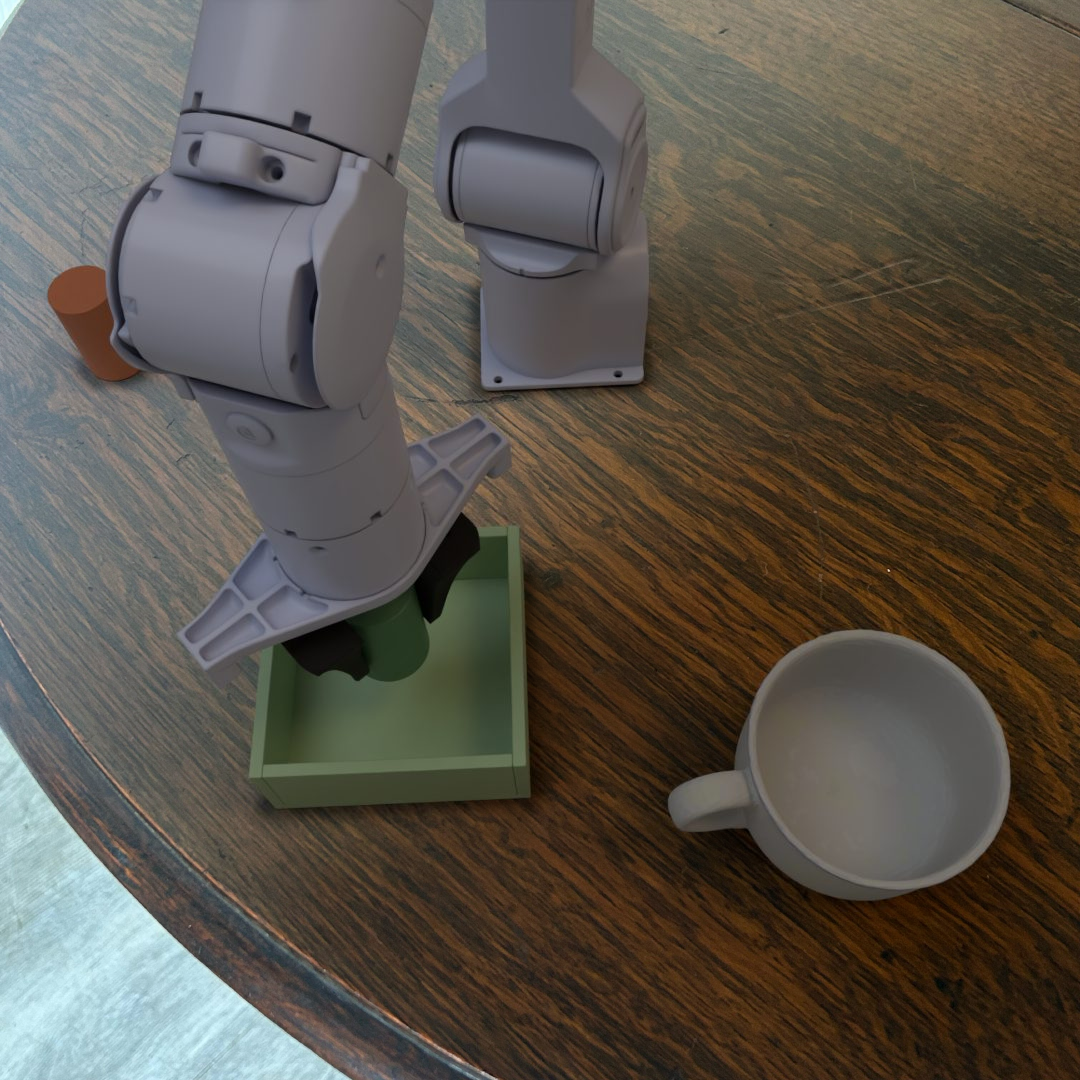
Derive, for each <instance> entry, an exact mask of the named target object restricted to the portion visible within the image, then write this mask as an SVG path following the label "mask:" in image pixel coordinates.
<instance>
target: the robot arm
mask: <svg viewBox="0 0 1080 1080" xmlns="http://www.w3.org/2000/svg"><path fill="white" fill-rule="evenodd" d="M595 4H596V0H484V13H485V14H484V18H485V21H484V23H485V49H483V50H481V51H479V52H478V53H476V54H474V55H472V56H471V57H469V58H468V59H466V60H465V61H463V62H462V63H461V65H460V66H459V67H458V68H457V69H456V70H455V72H454V73H453V75H452V76H451V78H450V80H449V82H448V84H447V85H446V88H445V90H444V92H443V94H442V96H441V98H440V101H439V103H438V108H437V109H438V110H437V115H438V125H437V141H436V145H435V151H434V156H433V168H432V169H433V170H432V187H433V194H434V198H435V201H436V203H437V205H438V207H439V209H440V212H441V214H442V216H443V218H445V220H446V221H448V222H450V223H456V224H463V233H464V235H463V236H464V241H465V242H466V243H468V244H472V245H474V246H476V247H477V253H478V262H479V270H480V271H479V272H480V280H481V287H480V289H479V299H480V300H479V302H480V305H479V306H480V307H479V308H480V309H479V310H480V312H479V313H480V382H481V387H482V388H483V389H484V390H485V391H490V392H491V391H511V390H513V391H514V390H534V389H553V388H554V389H555V388H556V389H557V388H577V387H579V388H580V387H596V386H597V387H598V386H618V385H619V386H620V385H637V384H640V383H642V381H644V376H645V372H644V359H645V358H644V357H645V344H646V333H647V322H648V320H649V319H648V318H649V294H650V254H649V252H650V251H649V237H648V226H647V220H646V214H645V211H644V210H643V209H641V205H642V200H643V197H644V196H643V195H644V191H645V186H646V180H647V174H648V165H649V144H648V141H647V116H648V115H647V113H648V108H647V107H646V105H645V97H646V96H645V95H646V94H645V93H644V91H643V90H642V89H641V87H639V86H638V85H637V84H636V82H634V81H633V80H632V79H631V78H630V77H628V75H626V74H625V73H624V72H623V71H622V70H621V69H619V68H618V67H617V66H616V65H615V64H613V63H612V61H610V60H609V59H608V58H607V57H606V56H605V55H603V54H602V53H601V52H600V51H599V50H597V49H596V47H595V46H593V40H594V39H593V38H594V24H595V23H594V22H595V6H596V5H595ZM434 5H435V0H202V3H201V7H200V12H199V18H198V23H197V27H196V33H195V37H194V42H193V47H192V52H191V57H190V62H189V67H188V72H187V76H186V81H185V86H184V91H183V95H182V100H181V104H180V105H181V106H180V110H179V116H178V119H177V123H176V129H175V135H174V140H173V145H172V148H171V153H170V158H169V165H170V166H168V167H167V168H165V169H164V170H163V171H162V172H161V173H159V174H154V175H151V176H149V177H147V178H145V179H144V180H142V181H141V182H140V183H138V184H137V185H136V186H135V187H134V189H133V190H131V192H130V193H129V194H128V197H127V199H125V200H124V202H123V203H122V205H121V207H120V208H119V211H118V213H117V215H116V217H115V219H114V223H113V226H112V228H111V231H110V236H109V240H108V243H107V244H108V245H107V249H106V257H105V271H106V290H107V297H108V302H109V306H110V310H111V312H112V315H113V318H114V327H113V330H112V333H111V336H110V343H111V345H112V346H113V348H114V349H115V351H116V352H117V353H118V355H119V356H120V357H121V358H122V359H123V360H124V361H125V362H127V363H128V364H130V365H131V366H133V367H135V368H137V369H140V371H143V372H144V371H145V372H149V373H153V374H157V375H166V376H167V377H168V378H169V380H170V381H171V383H172V385H173V387H174V389H175V390H176V392H177V394H178V396H179V397H180V399H183V400H186V401H187V400H188V401H191V402H194V401H195V403H196V404H198V405H199V407H200V408H201V412H202V413H203V415H204V417H205V418H206V421H207V423H208V425H209V427H210V429H211V431H212V433H213V434H214V437H215V439H216V441H217V443H218V445H219V446H220V449H221V450H222V452H223V454H224V457H225V459H226V460H227V463H228V464H229V466H230V468H231V470H232V472H233V473H234V476H235V478H236V480H237V482H238V483H239V486H240V488H241V490H242V492H243V494H244V495H245V498H246V500H247V502H248V503H249V506H250V508H251V509H252V511H253V513H254V515H255V518H256V519H257V521H258V523H259V525H260V528H261V529H262V532H261V534H260V535H259V536H258V537H257V538H256V540H255V541H254V543H253V544H252V546H251V547H250V548H249V550H248V551H247V552H246V554H245V555H244V556H243V557H242V559H241V561H239V563H238V564H237V565H236V567H235V568H234V570H233V571H232V572H231V574H230V575H229V576H228V578H227V579H226V580H225V582H224V583H223V584H222V586H221V587H220V589H218V591H217V592H216V594H215V595H214V596H213V597H212V599H211V600H210V601H209V602H208V604H207V605H206V606H205V607H204V608H203V609H202V610H201V611H200V612H199V613H198V614H197V615H196V616H195V617H194V618H193V619H192V620H191V621H190V622H188V623H187V624H186V625H185V626H183V627H182V628H181V629H180V630H179V631H177V632H176V634H175V635H176V637H177V638H178V640H179V641H180V642H181V643H182V645H184V647H185V648H186V650H187V651H188V653H189V654H190V655H191V656H192V657H193V659H194V660H195V661H196V663H198V665H199V666H200V667H201V669H202V670H203V671H204V672H205V674H206V675H207V677H209V679H210V680H211V681H212V682H213V684H214V685H215V686H216V688H218V690H222V689H224V688H226V687H227V686H228V685H229V684H230V683H231V682H233V681H234V680H235V679H237V678H238V677H239V676H240V675H241V673H242V667H241V665H240V664H239V662H238V661H240V660H241V659H243V658H245V657H249V656H251V655H252V654H255V653H258V652H259V651H260V652H261V650H262V649H265V648H268V647H271V646H273V645H276V644H279V643H281V644H282V646H283V647H284V648H285V649H286V650H287V651H288V653H289V654H290V655H291V656H292V657H293V658H294V659H295V661H296V662H297V663H298V664H299V665H300V666H301V667H302V668H303V669H305V670H306V671H308V672H310V673H311V674H313V675H315V676H320V675H322V674H323V673H325V672H328V671H332V670H337V671H341V672H344V673H347V674H349V675H351V677H352V678H353V679H354V680H355V681H360V680H361V679H362V678H364V677H365V676H366V675H367V674H369V672H370V669H369V667H368V665H367V664H366V662H365V661H364V659H363V657H362V655H361V644H362V643H363V642H364V640H363V639H362V638H361V637H360V636H359V635H358V634H357V633H356V632H355V630H354V629H353V628H352V627H351V626H350V625H349V624H348V623H347V622H346V621H345V619H347V618H350V617H352V616H355V615H358V614H361V613H363V612H366V611H369V610H371V609H374V608H377V607H379V606H382V605H384V604H386V603H388V602H390V601H392V600H393V599H395V598H397V597H398V596H400V595H401V594H402V593H403V592H405V591H406V590H407V589H408V588H409V587H410V586H411V585H412V584H413V583H414V586H415V590H416V593H417V597H418V600H419V603H420V607H421V610H422V614H423V617H424V618H425V619H426V620H427V621H428V622H429V623H430V624H431V623H432V622H434V621H435V620H436V619H437V618H439V617H440V616H441V614H442V611H443V608H444V605H445V602H446V598H447V595H448V593H449V590H450V588H451V585H452V583H453V581H454V579H455V577H456V576H457V574H458V573H459V571H460V570H461V568H462V567H463V566H464V564H465V563H466V562H467V561H468V560H469V559H470V558H472V557H473V556H474V555H475V554H476V553H477V552H478V551H479V550H480V539H479V533H478V530H477V528H476V527H477V526H476V525H475V524H474V523H473V521H472V520H471V519H470V518H469V517H467V515H465V513H463V512H462V511H463V510H464V508H465V507H466V505H467V503H469V501H470V499H471V498H472V496H473V494H474V493H475V491H476V490H477V488H478V487H479V485H480V484H481V482H482V481H483V479H484V478H485V477H487V478H489V479H491V480H496V479H498V478H500V477H501V476H503V475H504V474H505V473H506V472H509V470H511V468H513V459H512V450H511V440H510V439H509V438H508V437H507V436H506V435H505V434H503V433H502V432H501V431H500V429H498V428H497V427H496V426H495V425H494V424H493V423H492V422H491V421H490V420H488V419H487V418H486V417H485V416H484V415H483V414H482V413H481V412H475V413H474V414H473V415H471V416H470V417H468V418H467V419H465V420H464V421H462V422H460V423H458V424H457V425H455V426H453V427H451V428H448V429H446V430H443V431H440V432H438V433H436V434H432V435H430V436H426V437H424V438H421V439H418V440H415V441H413V442H409V443H407V441H406V437H405V433H404V428H403V423H402V420H401V416H400V411H399V408H398V403H397V399H396V395H395V391H394V386H393V383H392V378H391V375H390V370H389V365H388V362H387V357H388V355H389V352H390V349H391V346H392V342H393V340H394V336H395V333H396V328H397V325H398V321H399V316H400V312H401V308H402V302H403V295H404V294H403V293H404V284H405V269H406V267H405V264H406V263H405V258H406V257H405V239H404V238H405V224H406V220H407V219H406V218H407V214H408V209H409V206H408V203H407V202H408V198H409V197H408V195H409V189H408V188H407V187H406V186H404V184H402V183H401V182H399V180H397V179H396V178H395V176H396V172H397V167H398V164H399V160H400V159H399V158H400V154H401V151H402V150H401V149H402V146H403V141H404V138H405V137H404V136H405V132H406V128H407V123H408V120H409V115H410V110H411V107H412V101H413V98H414V93H415V89H416V84H417V80H418V75H419V71H420V67H421V62H422V58H423V54H424V48H425V44H426V40H427V36H428V31H429V28H430V27H429V26H430V23H431V18H432V13H433V9H434ZM616 376H620V377H616ZM497 381H501V382H498V383H497Z"/></svg>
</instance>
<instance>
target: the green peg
mask: <svg viewBox="0 0 1080 1080" xmlns="http://www.w3.org/2000/svg"><path fill="white" fill-rule="evenodd" d="M345 621H346V622H347V623H348V624H349V625H350V626H351V627H352V628H353V629H354V630H355V632H356V633H357V634H358V635H359V636H360V637H361V638H362V639H363V640H364V642H363V643H362V644H361V655H362V657H363V659H364V661H365V662H366V664H367V665H368V667H369V669H370V672H369V674H367V676H368V677H370V678H372V679H375V680H378V681H383V682H393V681H398V680H402V679H404V678H407V677H409V676H410V675H412V674H413V673H415V672H416V671H417V670H418V669H419V668H420V667H421V666H422V664H423V663H424V661H425V660H426V658H427V655H428V652H429V647H430V641H429V635H428V631H427V628H426V624H425V621H424V617H423V614H422V610H421V607H420V603H419V600H418V597H417V593H416V590H415V586H414V583H413V584H412V585H411V586H410V587H409V588H408V589H407V590H406V591H405V592H403V593H402V594H401V595H400V596H398V597H397V598H395V599H393V600H392V601H390V602H388V603H386V604H384V605H382V606H379V607H377V608H374V609H371V610H369V611H366V612H363V613H361V614H358V615H355V616H352V617H350V618H347V619H345Z"/></svg>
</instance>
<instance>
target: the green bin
mask: <svg viewBox="0 0 1080 1080" xmlns="http://www.w3.org/2000/svg"><path fill="white" fill-rule="evenodd" d="M476 528H477V530H478V533H479V539H480V550H479V551H478V552H477V553H476V554H475V555H474V556H473V557H472V558H470V559H469V560H468V561H467V562H466V563H465V564H464V566H463V567H462V568H461V570H460V571H459V573H458V574H457V576H456V577H455V579H454V581H453V583H452V585H451V588H450V590H449V593H448V595H447V598H446V602H445V605H444V608H443V611H442V614H441V616H440V617H439V618H437V619H436V620H435V621H434V622H432V623H431V624H430V623H429V622H428V621H427V620H426V619H425V618H424V621H425V624H426V628H427V631H428V635H429V641H430V647H429V652H428V655H427V658H426V660H425V661H424V663H423V664H422V666H421V667H420V668H419V669H418V670H417V671H416V672H415V673H413V674H412V675H410V676H409V677H407V678H404V679H402V680H398V681H393V682H383V681H378V680H375V679H372V678H370V677H368V676H367V675H366V676H365V677H364V678H362V679H361V680H360V681H355V680H354V679H353V678H352V677H351V675H349V674H347V673H344V672H341V671H337V670H332V671H328V672H325V673H323V674H322V675H320V676H315V675H313V674H311V673H310V672H308V671H306V670H305V669H303V668H302V667H301V666H300V665H299V664H298V663H297V662H296V661H295V659H294V658H293V657H292V656H291V655H290V654H289V653H288V651H287V650H286V649H285V648H284V647H283V646H282V644H281V643H279V644H276V645H273V646H271V647H268V648H265V649H262V650H260V655H259V657H260V658H259V665H258V666H259V667H258V677H257V684H256V685H257V686H256V697H255V707H254V716H253V726H252V727H253V728H252V737H251V747H250V755H249V756H250V758H249V767H248V779H249V780H250V781H251V782H252V784H253V785H254V786H255V787H256V788H257V789H258V790H259V791H260V793H261V794H262V795H263V796H264V797H265V799H267V801H268V802H269V803H270V804H271V805H272V806H273V807H274V809H276V810H280V809H281V810H282V809H301V808H302V809H306V808H327V807H328V808H329V807H349V806H350V807H351V806H352V807H353V806H371V805H373V806H374V805H396V804H399V805H400V804H419V803H420V804H421V803H442V802H443V803H444V802H464V801H486V800H487V801H488V800H511V799H530V798H531V797H532V796H531V794H532V793H531V765H530V763H531V761H530V735H529V730H530V729H529V704H528V703H529V702H528V701H529V699H528V673H527V670H528V669H527V640H526V638H527V637H526V609H525V580H524V579H525V578H524V565H523V564H524V563H523V552H522V541H521V530H520V525H518V524H513V525H512V524H511V525H494V526H493V525H490V526H476Z"/></svg>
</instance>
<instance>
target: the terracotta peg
mask: <svg viewBox="0 0 1080 1080" xmlns="http://www.w3.org/2000/svg"><path fill="white" fill-rule="evenodd" d="M46 297H47V302H48V304H49V306H50V307H51V309H52V311H53V312H54V314H55V316H56V317H57V319H58V320H59V322H60V323H61V325H62V327H63V328H64V330H65V332H66V333H67V334H68V336H69V338H70V339H71V341H72V342H73V344H74V346H75V347H76V349H77V351H78V352H79V354H80V355H81V357H82V359H83V360H84V361H85V363H86V365H87V366H88V369H90V371H91V373H92V374H93V375H94V376H95V377H97V378H99V379H101V380H104V381H109V382H115V381H122V380H126V379H129V378H131V377H133V376H135V375H136V374H137V373H139V371H141V370H140V369H137V368H135V367H133V366H131V365H130V364H128V363H127V362H125V361H124V360H123V359H122V358H121V357H120V356H119V355H118V353H117V352H116V351H115V349H114V348H113V346H112V345H111V343H110V336H111V333H112V330H113V327H114V318H113V315H112V312H111V310H110V306H109V302H108V297H107V290H106V269H103V268H101V267H99V266H95V265H90V264H89V265H86V264H84V265H78V266H74V267H71V268H68V269H66V270H64V271H62V272H61V273H60V274H58V275H57V276H56V277H55V278H54V279H53V280H52V281H51V283H50V285H49V286H48V288H47V292H46Z"/></svg>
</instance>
